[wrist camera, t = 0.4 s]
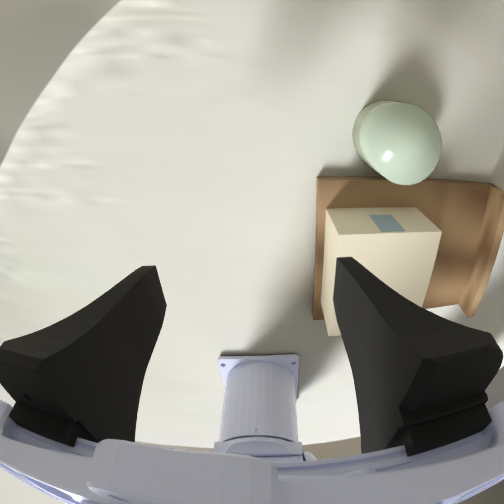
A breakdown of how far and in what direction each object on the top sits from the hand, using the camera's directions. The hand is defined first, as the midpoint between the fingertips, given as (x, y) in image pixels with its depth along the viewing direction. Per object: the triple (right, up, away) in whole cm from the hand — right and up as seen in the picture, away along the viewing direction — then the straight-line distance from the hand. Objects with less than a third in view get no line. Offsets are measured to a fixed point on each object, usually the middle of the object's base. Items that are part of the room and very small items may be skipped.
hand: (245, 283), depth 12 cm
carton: (+9, +1, +10) cm, 13 cm away
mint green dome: (+9, +9, +6) cm, 15 cm away
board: (+13, +1, +10) cm, 17 cm away
